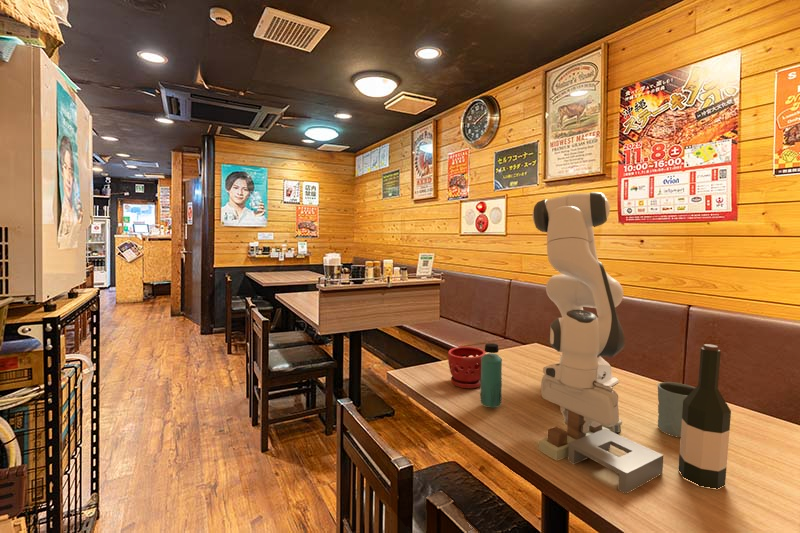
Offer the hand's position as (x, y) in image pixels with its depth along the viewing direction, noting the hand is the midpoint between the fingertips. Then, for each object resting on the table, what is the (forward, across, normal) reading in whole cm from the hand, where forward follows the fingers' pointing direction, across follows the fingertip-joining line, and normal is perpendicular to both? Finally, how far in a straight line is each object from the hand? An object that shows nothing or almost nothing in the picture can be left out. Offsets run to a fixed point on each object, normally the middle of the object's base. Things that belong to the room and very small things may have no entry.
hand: (576, 428), depth 103 cm
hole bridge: (+4, -11, +1) cm, 12 cm away
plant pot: (+5, +46, -2) cm, 46 cm away
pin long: (+4, 0, 0) cm, 4 cm away
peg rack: (+4, 0, 0) cm, 4 cm away
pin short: (+4, 0, -7) cm, 8 cm away
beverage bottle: (+4, +27, +4) cm, 28 cm away
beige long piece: (+5, +10, -17) cm, 20 cm away
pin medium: (+4, 0, +7) cm, 8 cm away
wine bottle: (+4, -23, -12) cm, 26 cm away
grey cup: (+5, -9, -31) cm, 33 cm away
